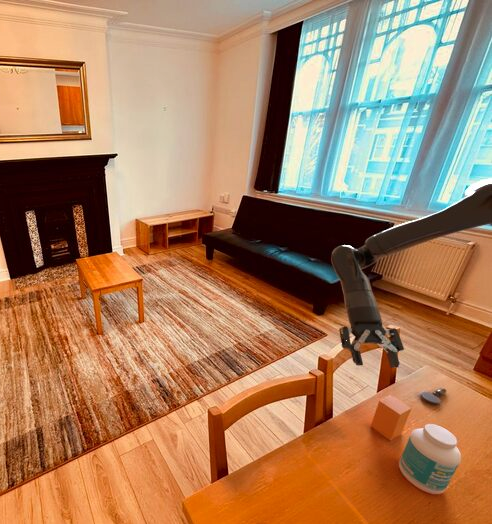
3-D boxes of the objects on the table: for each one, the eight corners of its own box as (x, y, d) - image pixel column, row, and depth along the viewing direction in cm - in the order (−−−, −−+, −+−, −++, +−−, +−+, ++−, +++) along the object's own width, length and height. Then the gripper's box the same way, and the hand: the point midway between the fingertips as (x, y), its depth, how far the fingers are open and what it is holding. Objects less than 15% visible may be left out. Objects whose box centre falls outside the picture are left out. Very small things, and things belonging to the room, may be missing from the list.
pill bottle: (428, 501, 56) (451, 457, 51) (389, 465, 63) (406, 423, 58) (453, 489, 58) (477, 445, 53) (413, 455, 65) (431, 413, 60)
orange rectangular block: (381, 419, 74) (390, 394, 70) (401, 434, 70) (411, 408, 66) (370, 426, 72) (379, 400, 69) (390, 441, 68) (400, 414, 65)
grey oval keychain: (434, 386, 83) (436, 383, 82) (452, 396, 79) (454, 392, 79) (416, 396, 80) (418, 393, 79) (434, 407, 76) (436, 403, 76)
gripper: (341, 304, 78) (355, 363, 72) (397, 305, 76) (417, 367, 70) (329, 310, 85) (341, 365, 79) (380, 312, 83) (397, 369, 76)
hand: (377, 366), depth 74 cm, fingers open, 8 cm apart
